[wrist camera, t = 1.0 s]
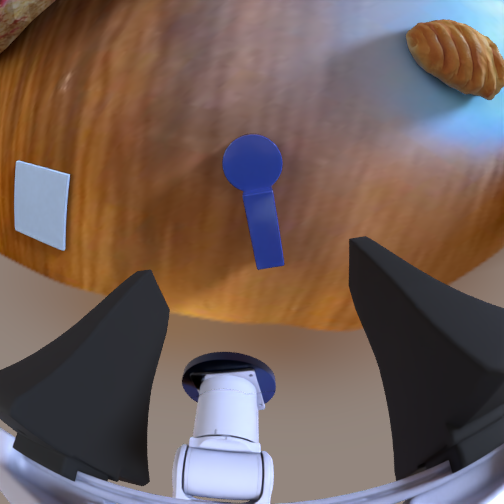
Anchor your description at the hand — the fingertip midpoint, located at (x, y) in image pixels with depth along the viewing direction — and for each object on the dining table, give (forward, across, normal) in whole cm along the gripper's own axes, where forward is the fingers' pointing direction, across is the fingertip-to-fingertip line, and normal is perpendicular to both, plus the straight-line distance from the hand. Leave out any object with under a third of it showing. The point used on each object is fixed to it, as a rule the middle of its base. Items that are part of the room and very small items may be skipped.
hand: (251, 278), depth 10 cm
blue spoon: (+10, 0, +1) cm, 10 cm away
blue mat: (+10, +19, -3) cm, 22 cm away
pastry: (+12, -18, -9) cm, 24 cm away
